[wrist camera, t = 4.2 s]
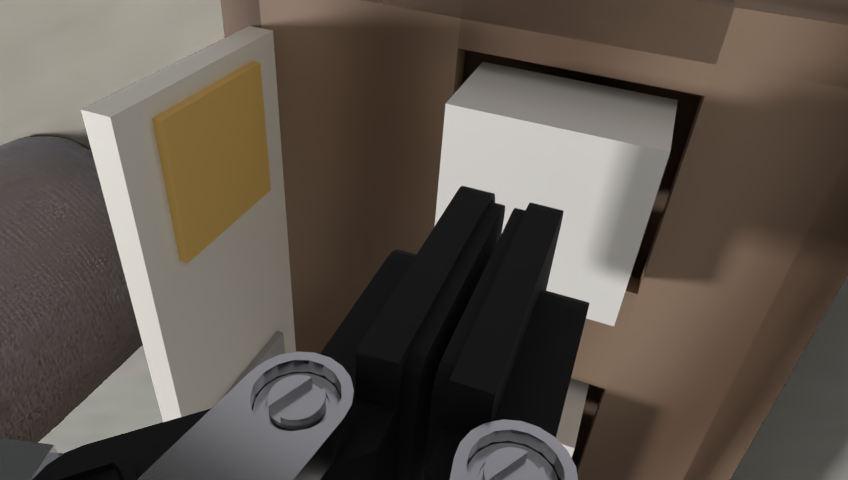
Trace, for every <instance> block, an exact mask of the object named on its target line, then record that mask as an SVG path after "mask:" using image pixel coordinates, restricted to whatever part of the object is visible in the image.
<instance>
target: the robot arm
mask: <svg viewBox="0 0 848 480" xmlns="http://www.w3.org/2000/svg"><path fill="white" fill-rule="evenodd" d="M563 213H564V211H563V210H559V209H555V208H551V207H547V206H543V205H539V204H535V203H531V202H530V203H529V205H528V207H527V209H526V210H522V209H518V208H514V210H513V211H512V213H511V215H510V218H509V220H508V222H507V224H506V226H505V228H504V230H503V232H502V227H503V221H504V215H505V205H502V204H498V203H495V194H494V193H490V192H486V191H482V190H478V189H474V188H470V187H466V186H461V187H460V188H459V189H458V191H457V192H456V194H455V195H454V197H453V199H452V200H451V202H450V203H449V205H448V206H447V208H446V209H445V211H444V213H443V214H442V216H441V217H440V219H439V220H438V222H437V224H436V225H435V227H434V228H433V230H432V231H431V233H430V234H429V236H428V238H427V239H426V241H425V242H424V244H423V245H422V247H421V249H420V250H419V252H418V253H417V255H416V254H413V253H409V252H406V251H402V250H398V249H396V250H393V251H392V252H391V253H390V255H389V256H388V257H387V258H386V260H385V261H384V263H383V264H382V266H381V267H380V268H379V270H378V271H377V273H376V274H375V276H374V277H373V278H372V280H371V281H370V283H369V284H368V286H367V287H366V289H365V290H364V291H363V293H362V294H361V296H360V297H359V299H358V300H357V301H356V303H355V304H354V306H353V307H352V309H351V310H350V311H349V313H348V314H347V316H346V317H345V319H344V320H343V321H342V323H341V324H340V326H339V327H338V329H337V330H336V331H335V333H334V334H333V336H332V337H331V339H330V340H329V342H328V343H327V344H326V346H325V347H324V349H323V350H322V352H321V353H320V354H318V353H314V352H299V351H298V352H292V353H285V354H280V355H278V356H275V357H273V358H270V359H268V360H265V361H264V362H263V363H261V364H260V365H258V366H257V367H256V368H254V369H253V370H252V371H251V372H250V373H248V374H247V375H246V376H245V377H244V378H243V379H242V380H241V381H240V382H239V383H238V384H237V385H236V386H235V387H234V388H233V389H232V390H231V391H230V392H228V393H227V394H226V395H225V396H224V397H223V398H222V399H221V400H220V401H219V402H218V403H217V404H216V405H215V406H214V407H213V408H211V409H207V410H204V411H201V412H197V413H194V414H190V415H187V416H183V417H180V418H176V419H173V420H169V421H166V422H163V423H159V424H156V425H152V426H149V427H145V428H142V429H138V430H135V431H132V432H128V433H125V434H121V435H118V436H114V437H111V438H107V439H104V440H100V441H97V442H94V443H90V444H87V445H84V446H81V447H79V448H76V449H74V450H71V451H69V452H66V453H64V454H62V453H57V451H56V449H55V446H54V445H50V444H43V443H36V442H28V441H21V440H14V439H7V438H0V480H578V476H577V469H576V466H575V464H574V462H573V460H572V458H571V456H570V454H569V452H568V450H567V449H566V448H565V447H564V446H563V445H562V444H561V443H560V442H559V441H558V440H557V439H556V435H557V431H558V427H559V423H560V420H561V416H562V412H563V408H564V404H565V400H566V396H567V392H568V388H569V384H570V380H571V376H572V372H573V368H574V364H575V360H576V356H577V352H578V348H579V344H580V340H581V336H582V332H583V328H584V324H585V320H586V316H587V312H588V308H589V302H585V301H582V300H578V299H575V298H571V297H567V296H564V295H560V294H557V293H553V292H549V291H546V289H547V284H548V280H549V275H550V271H551V267H552V262H553V258H554V254H555V249H556V245H557V240H558V236H559V232H560V227H561V223H562V218H563ZM501 233H502V234H501Z"/></svg>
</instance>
